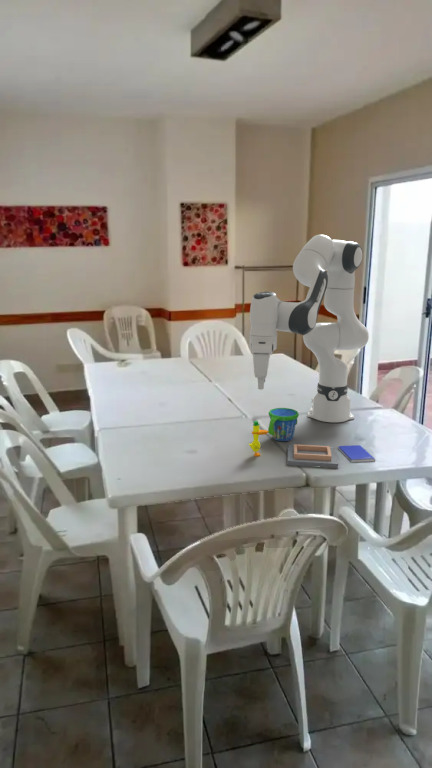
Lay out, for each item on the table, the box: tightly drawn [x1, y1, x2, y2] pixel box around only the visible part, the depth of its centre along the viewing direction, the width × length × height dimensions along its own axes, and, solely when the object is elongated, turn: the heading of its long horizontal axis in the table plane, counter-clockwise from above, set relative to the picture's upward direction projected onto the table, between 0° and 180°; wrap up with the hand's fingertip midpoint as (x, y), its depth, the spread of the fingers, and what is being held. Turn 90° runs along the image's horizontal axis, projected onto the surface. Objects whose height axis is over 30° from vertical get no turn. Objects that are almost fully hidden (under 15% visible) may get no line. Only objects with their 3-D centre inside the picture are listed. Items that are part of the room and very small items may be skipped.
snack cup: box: [267, 407, 299, 442], centre depth 205 cm, size 16×10×10 cm
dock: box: [286, 443, 339, 469], centre depth 187 cm, size 14×16×3 cm
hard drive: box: [337, 444, 376, 463], centre depth 191 cm, size 2×8×12 cm
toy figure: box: [248, 420, 269, 457], centre depth 188 cm, size 7×4×12 cm, turn 97°
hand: (261, 385), depth 183 cm, fingers open, 8 cm apart
